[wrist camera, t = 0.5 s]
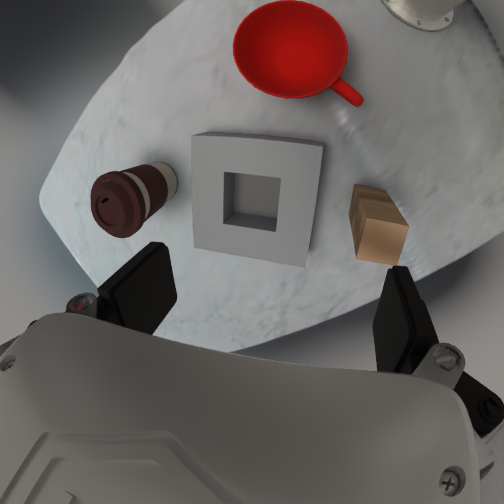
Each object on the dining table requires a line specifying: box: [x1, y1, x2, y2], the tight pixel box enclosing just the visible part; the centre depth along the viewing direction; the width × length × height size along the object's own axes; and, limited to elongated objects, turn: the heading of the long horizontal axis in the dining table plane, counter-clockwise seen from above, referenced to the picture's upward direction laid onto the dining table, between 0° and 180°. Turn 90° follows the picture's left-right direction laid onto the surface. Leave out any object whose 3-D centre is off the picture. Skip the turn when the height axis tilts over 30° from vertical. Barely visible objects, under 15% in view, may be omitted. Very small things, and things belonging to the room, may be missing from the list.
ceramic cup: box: [233, 0, 364, 107], centre depth 28 cm, size 13×17×10 cm
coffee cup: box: [91, 162, 177, 238], centre depth 40 cm, size 10×10×15 cm
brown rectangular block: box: [349, 184, 409, 266], centre depth 34 cm, size 5×5×14 cm
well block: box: [192, 132, 323, 267], centre depth 41 cm, size 18×18×6 cm
